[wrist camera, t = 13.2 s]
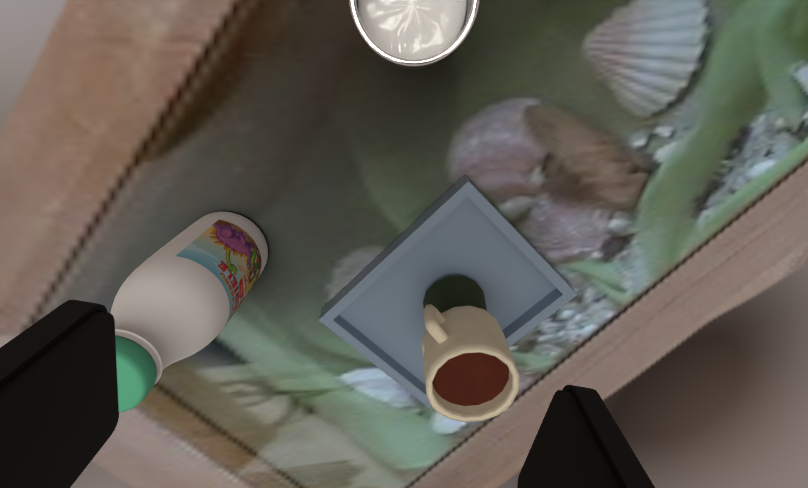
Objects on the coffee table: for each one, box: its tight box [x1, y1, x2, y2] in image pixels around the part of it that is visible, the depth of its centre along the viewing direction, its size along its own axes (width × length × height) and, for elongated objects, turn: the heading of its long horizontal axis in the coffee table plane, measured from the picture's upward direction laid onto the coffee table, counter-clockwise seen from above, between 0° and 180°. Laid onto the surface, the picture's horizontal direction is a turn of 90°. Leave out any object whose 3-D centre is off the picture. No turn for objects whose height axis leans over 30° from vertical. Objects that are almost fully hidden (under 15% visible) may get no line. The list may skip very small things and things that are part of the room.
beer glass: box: [349, 0, 479, 70], centre depth 28 cm, size 7×7×15 cm
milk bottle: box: [111, 212, 268, 412], centre depth 34 cm, size 8×8×20 cm
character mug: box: [421, 276, 519, 422], centre depth 38 cm, size 11×7×13 cm, turn 38°
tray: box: [319, 175, 577, 408], centre depth 44 cm, size 20×16×2 cm
